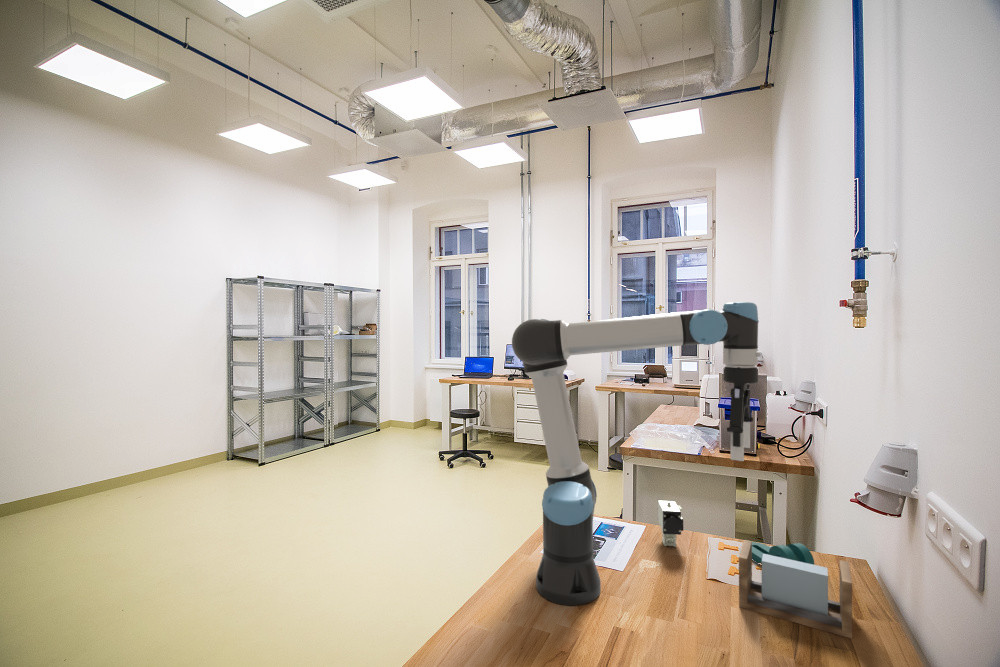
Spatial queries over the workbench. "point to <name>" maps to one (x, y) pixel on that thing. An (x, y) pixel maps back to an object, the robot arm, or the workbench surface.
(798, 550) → the bracket
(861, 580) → the workbench surface
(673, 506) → the pneumatic valve
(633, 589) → the workbench surface
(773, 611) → the track
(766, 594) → the door panel
